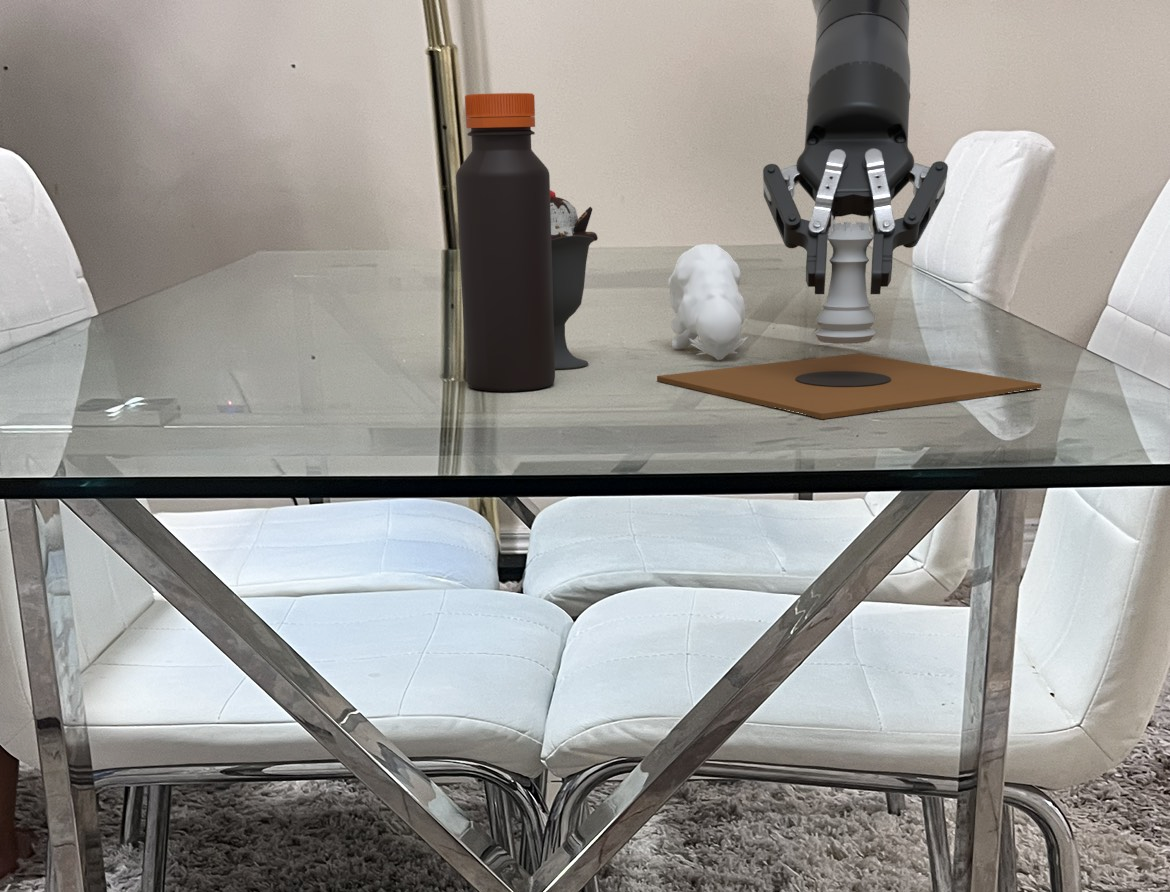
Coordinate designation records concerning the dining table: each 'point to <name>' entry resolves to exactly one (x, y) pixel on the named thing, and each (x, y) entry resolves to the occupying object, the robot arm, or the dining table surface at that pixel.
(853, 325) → the rook chess piece
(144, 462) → the dining table surface
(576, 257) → the sundae
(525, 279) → the bottle
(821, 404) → the centre mat
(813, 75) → the robot arm
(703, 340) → the white animal figurine
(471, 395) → the dining table surface
